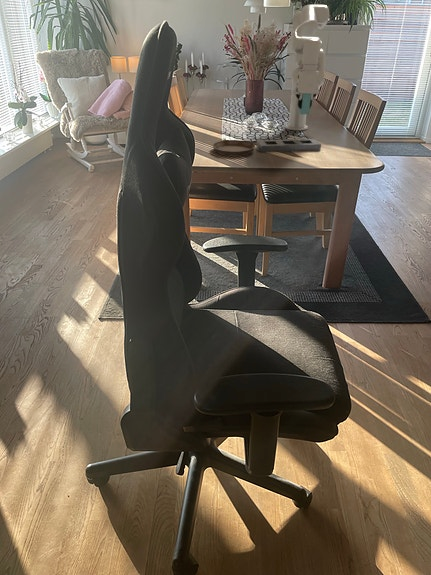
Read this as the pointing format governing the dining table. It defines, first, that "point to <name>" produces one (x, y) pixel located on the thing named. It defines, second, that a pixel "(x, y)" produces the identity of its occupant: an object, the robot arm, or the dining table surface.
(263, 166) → the dining table surface
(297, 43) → the robot arm
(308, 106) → the square block
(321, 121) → the dining table surface
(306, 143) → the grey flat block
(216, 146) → the plant saucer
